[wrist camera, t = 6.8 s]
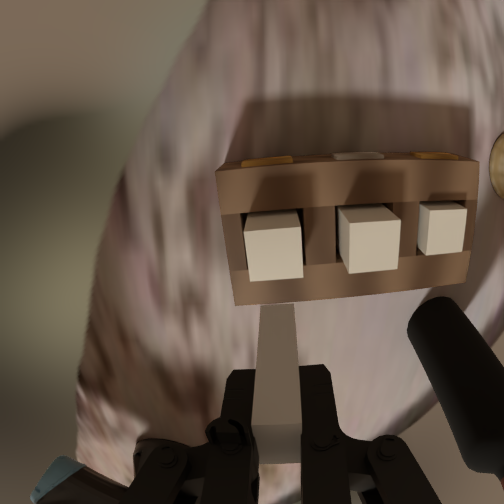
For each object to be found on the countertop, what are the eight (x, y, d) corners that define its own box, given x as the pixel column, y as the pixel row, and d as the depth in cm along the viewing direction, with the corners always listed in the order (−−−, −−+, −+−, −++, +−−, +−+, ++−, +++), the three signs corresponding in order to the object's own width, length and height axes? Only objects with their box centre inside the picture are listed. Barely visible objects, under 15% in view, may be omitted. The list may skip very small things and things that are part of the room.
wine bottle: (442, 285, 32) (576, 503, 4) (466, 316, 34) (573, 503, 6) (396, 327, 35) (482, 564, 7) (424, 354, 36) (501, 551, 9)
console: (240, 279, 33) (235, 305, 28) (223, 159, 28) (214, 168, 24) (444, 261, 31) (465, 282, 26) (452, 150, 26) (479, 158, 21)
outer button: (405, 234, 29) (425, 255, 24) (407, 195, 27) (429, 210, 23) (438, 232, 28) (461, 251, 24) (441, 194, 27) (467, 209, 22)
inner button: (253, 254, 28) (250, 281, 24) (248, 211, 27) (243, 231, 22) (298, 250, 28) (303, 277, 23) (295, 207, 26) (300, 226, 22)
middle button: (337, 247, 28) (348, 273, 23) (336, 204, 26) (349, 223, 22) (378, 244, 27) (397, 269, 23) (379, 202, 26) (400, 219, 21)
